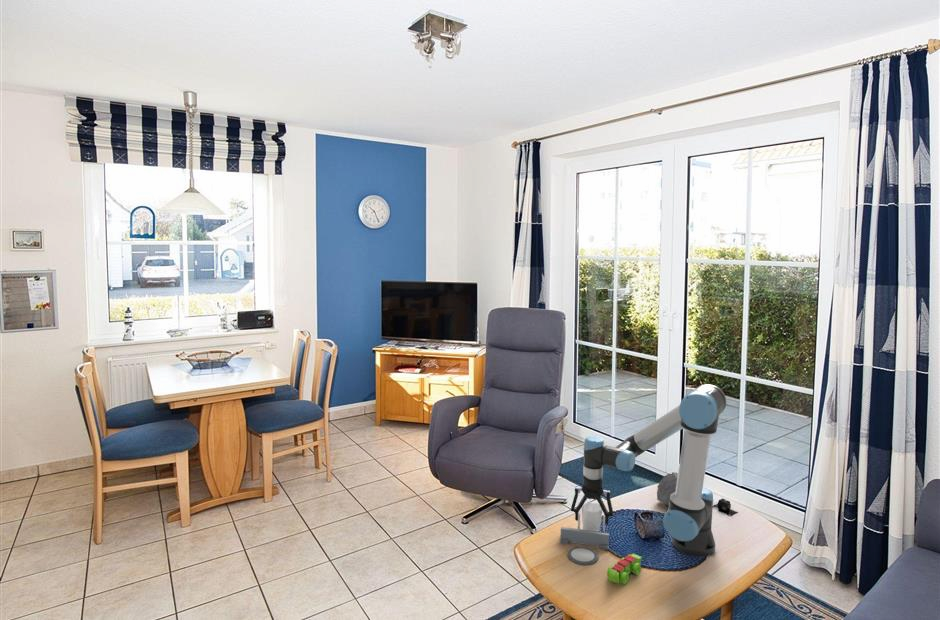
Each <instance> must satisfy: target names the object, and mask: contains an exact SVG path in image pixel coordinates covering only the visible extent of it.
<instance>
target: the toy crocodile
mask: <svg viewBox="0 0 940 620" xmlns="http://www.w3.org/2000/svg"><path fill="white" fill-rule="evenodd" d="M642 559H643V557H642V556H640V555H638V554H635V553H632V554H629V553H628V554H627V555H626V556H625V557H621V558H620V560H619V561H617V563H615V564H614V565H609V567H608V569H607V572H606V574H607V575H606V576H607V577H608V578H607V580H608V581H610V582H613V583H615V584H619V583H621V584H622V585H627V583H628V582H629V579H630V576H629V575H630V574H631V572H632V574H634V575H639V574H640V572H641V569H642V565H641V563H642V561H643V560H642Z"/></svg>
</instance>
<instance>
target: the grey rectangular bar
mask: <svg viewBox="0 0 940 620" xmlns="http://www.w3.org/2000/svg"><path fill="white" fill-rule="evenodd" d="M569 543H573V544H580V545H587V546H593V547H599V549H600V550H603V551H604V550H605V551H609V546H610V545H609V544H610V533H609V532H605V533H603V531H600V532H596V531H588V530H583V529H581V528H580V529H578V528H572V527H565V526H561V527H560V540H559V544H564V545H569Z"/></svg>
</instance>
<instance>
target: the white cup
mask: <svg viewBox="0 0 940 620" xmlns="http://www.w3.org/2000/svg"><path fill="white" fill-rule="evenodd" d="M602 513H603V511H602V509H601V507H600V505H599V503H597V502H585V503H584V504H583V506H582V508H581V519H582V520H581V521H582V522H581V524H582V530H588V531H596V532H599V531H600V532H601V524H602V519H603V514H602Z"/></svg>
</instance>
